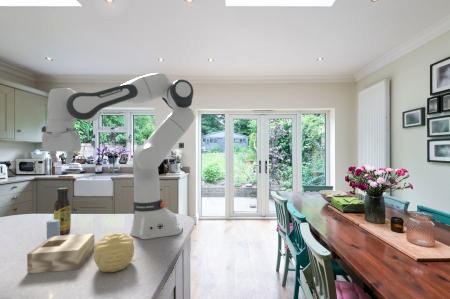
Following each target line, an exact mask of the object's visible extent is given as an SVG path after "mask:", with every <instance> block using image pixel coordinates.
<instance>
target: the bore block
mask: <svg viewBox="0 0 450 299" xmlns="http://www.w3.org/2000/svg"><path fill="white" fill-rule="evenodd" d="M94 245H95V233H83V234H82V233H80V234H68V235H66V234H63V235H60V236H52V237H50V238H49V239H48V240H47V239H46V240H45V241H43V242H42V243H40V244H39V245H38V246H36V247H35V248H34V249H31V251H29V252H28V253H27V254H26V255H27V256H26V258H27V259H26V263H27V264H26V267H27V268H26V271H27V272H26V273H27V274H36V273H48V272H59V271H61V272H62V271H68V270H69V271H70V270H79V269H80V268H81V267H82V265H83V264H84V263H85V261H87V259H88V258H89V257H90V256H91V254H92V253H93V252H95V247H94Z"/></svg>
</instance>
